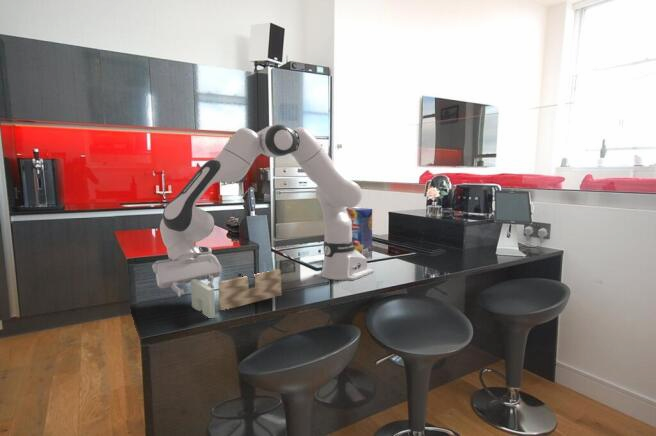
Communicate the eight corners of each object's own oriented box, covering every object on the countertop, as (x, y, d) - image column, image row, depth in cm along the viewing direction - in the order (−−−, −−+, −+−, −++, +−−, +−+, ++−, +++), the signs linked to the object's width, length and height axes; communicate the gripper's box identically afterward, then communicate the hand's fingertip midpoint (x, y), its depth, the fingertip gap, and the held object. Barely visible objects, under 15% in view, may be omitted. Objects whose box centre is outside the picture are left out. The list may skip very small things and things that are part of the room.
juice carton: (372, 258, 185) (372, 209, 182) (361, 261, 180) (361, 210, 177) (354, 254, 194) (354, 207, 190) (343, 256, 189) (343, 208, 186)
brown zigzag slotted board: (278, 293, 135) (278, 269, 134) (281, 295, 134) (280, 269, 133) (220, 309, 121) (218, 281, 120) (222, 310, 120) (220, 282, 119)
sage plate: (196, 305, 125) (195, 278, 123) (215, 318, 114) (213, 289, 113) (191, 306, 124) (190, 279, 122) (210, 319, 113) (208, 290, 112)
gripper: (152, 256, 119) (164, 294, 113) (215, 246, 132) (229, 280, 126) (149, 267, 123) (160, 305, 117) (210, 257, 136) (224, 290, 130)
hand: (196, 292), depth 121 cm, fingers open, 8 cm apart
